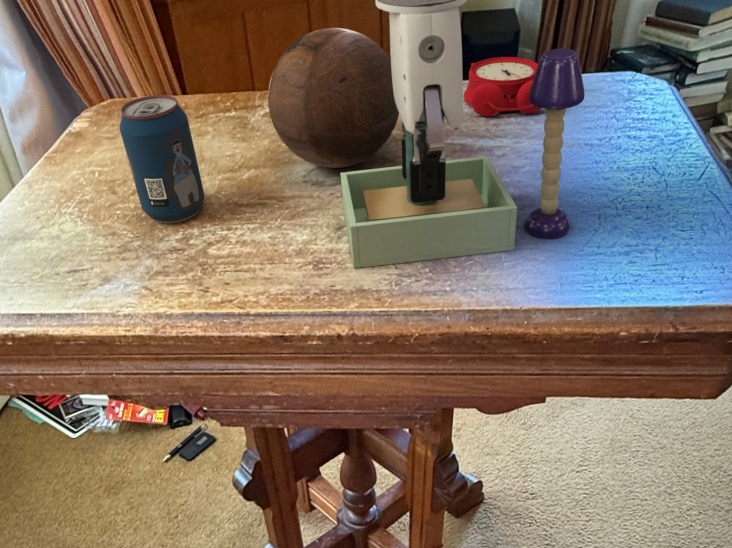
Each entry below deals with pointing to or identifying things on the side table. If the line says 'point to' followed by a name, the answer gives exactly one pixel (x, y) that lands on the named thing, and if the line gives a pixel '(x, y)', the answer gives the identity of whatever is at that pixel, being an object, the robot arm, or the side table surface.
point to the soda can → (162, 158)
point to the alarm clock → (501, 85)
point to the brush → (400, 205)
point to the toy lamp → (553, 134)
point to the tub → (429, 218)
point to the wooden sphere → (333, 98)
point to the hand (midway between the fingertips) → (423, 186)
